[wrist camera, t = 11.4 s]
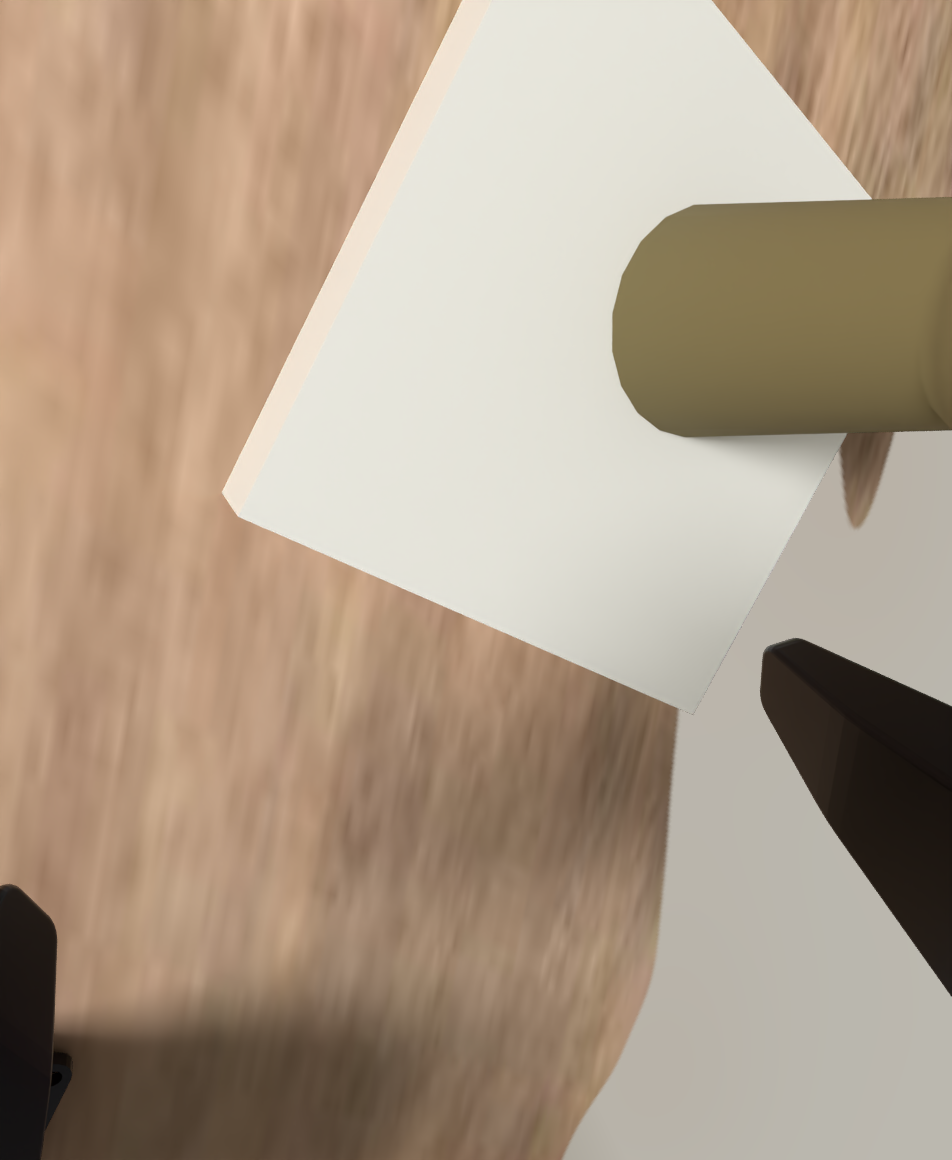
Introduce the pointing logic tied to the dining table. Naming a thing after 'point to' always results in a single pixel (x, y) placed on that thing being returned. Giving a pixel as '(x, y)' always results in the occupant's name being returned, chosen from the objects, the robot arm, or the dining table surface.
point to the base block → (544, 345)
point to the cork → (790, 319)
